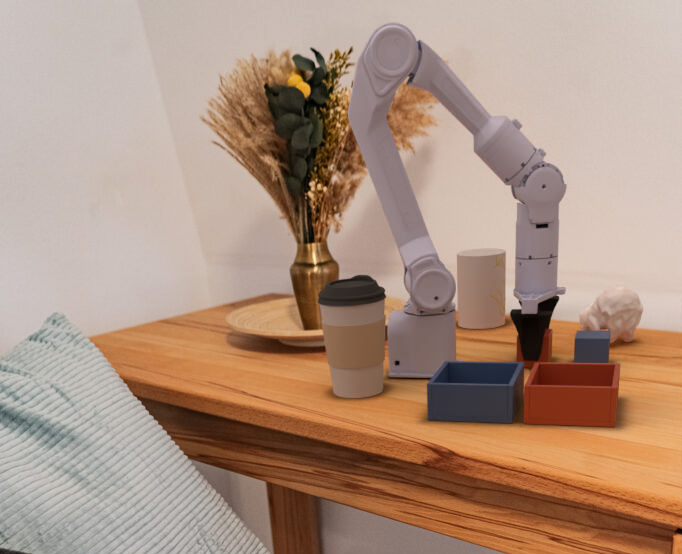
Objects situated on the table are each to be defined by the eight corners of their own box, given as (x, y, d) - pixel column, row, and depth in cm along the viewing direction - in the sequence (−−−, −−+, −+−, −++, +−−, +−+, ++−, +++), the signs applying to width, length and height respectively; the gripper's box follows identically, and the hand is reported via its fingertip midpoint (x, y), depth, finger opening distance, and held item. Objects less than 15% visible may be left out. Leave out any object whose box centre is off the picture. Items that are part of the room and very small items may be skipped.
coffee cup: (369, 403, 110) (362, 287, 103) (312, 396, 114) (302, 285, 108) (402, 384, 116) (397, 274, 110) (347, 378, 121) (340, 272, 115)
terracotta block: (516, 367, 120) (516, 336, 118) (520, 359, 124) (520, 328, 122) (548, 367, 119) (549, 336, 117) (551, 359, 122) (552, 328, 121)
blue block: (573, 370, 117) (574, 338, 115) (575, 361, 120) (577, 330, 119) (607, 370, 115) (609, 338, 113) (608, 361, 119) (610, 330, 117)
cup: (504, 328, 142) (504, 255, 137) (455, 329, 144) (454, 257, 139) (506, 317, 149) (506, 247, 144) (460, 318, 151) (458, 249, 146)
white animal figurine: (608, 290, 121) (567, 285, 132) (608, 349, 124) (567, 340, 135) (647, 284, 122) (603, 280, 133) (646, 343, 125) (602, 335, 136)
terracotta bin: (523, 423, 98) (524, 385, 96) (534, 397, 107) (535, 362, 105) (614, 427, 95) (617, 388, 93) (617, 399, 104) (620, 363, 102)
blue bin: (427, 420, 102) (426, 383, 100) (445, 394, 111) (444, 360, 109) (512, 423, 99) (512, 385, 97) (523, 397, 108) (524, 361, 106)
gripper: (561, 264, 107) (558, 367, 113) (571, 247, 120) (567, 341, 125) (506, 265, 110) (505, 367, 115) (521, 248, 122) (519, 340, 128)
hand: (534, 353), depth 121 cm, fingers open, 6 cm apart
